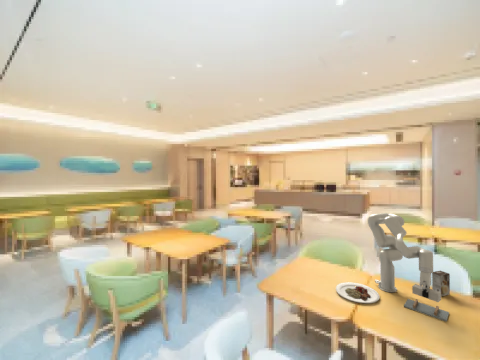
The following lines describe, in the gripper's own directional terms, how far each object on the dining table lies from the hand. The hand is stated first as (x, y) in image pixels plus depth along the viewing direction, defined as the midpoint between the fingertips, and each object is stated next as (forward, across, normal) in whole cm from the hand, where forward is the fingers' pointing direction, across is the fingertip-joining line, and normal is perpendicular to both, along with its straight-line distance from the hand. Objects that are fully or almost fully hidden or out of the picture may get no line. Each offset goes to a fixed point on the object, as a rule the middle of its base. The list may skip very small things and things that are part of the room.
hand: (426, 295), depth 151 cm
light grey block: (+1, 0, 0) cm, 1 cm away
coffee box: (+10, -34, +4) cm, 36 cm away
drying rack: (+10, 0, 0) cm, 10 cm away
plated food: (+10, +11, -40) cm, 43 cm away
